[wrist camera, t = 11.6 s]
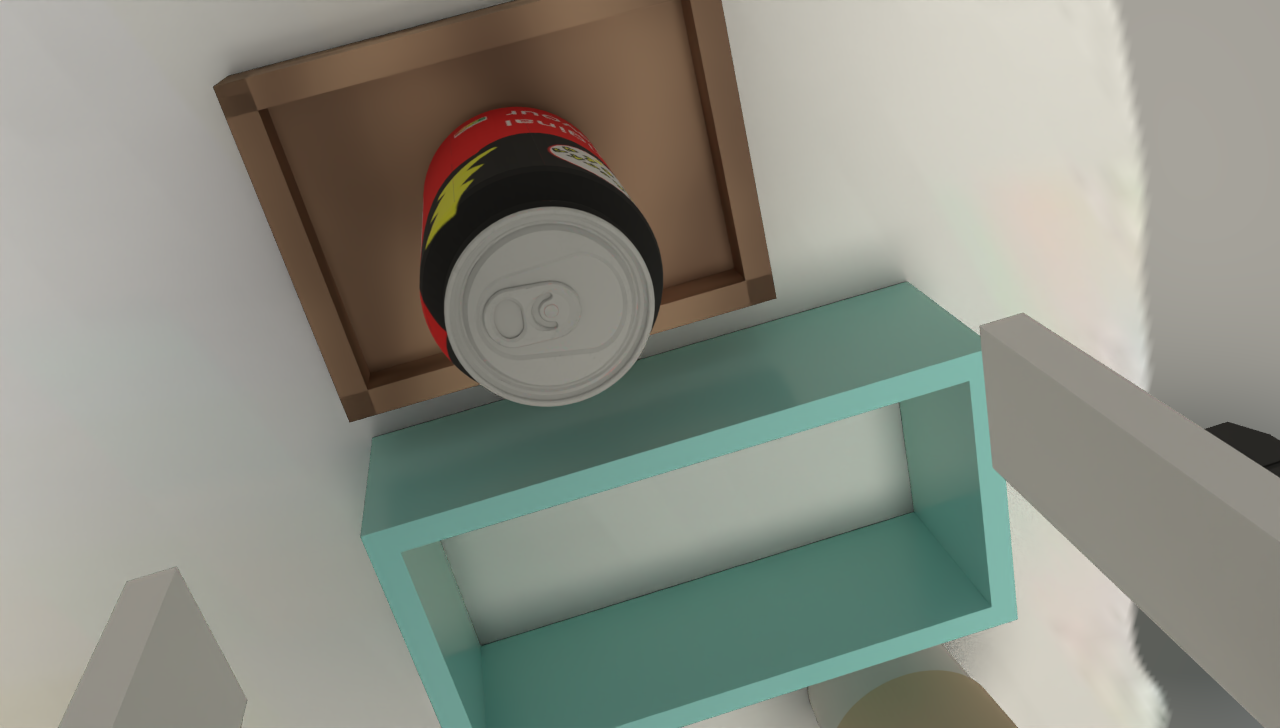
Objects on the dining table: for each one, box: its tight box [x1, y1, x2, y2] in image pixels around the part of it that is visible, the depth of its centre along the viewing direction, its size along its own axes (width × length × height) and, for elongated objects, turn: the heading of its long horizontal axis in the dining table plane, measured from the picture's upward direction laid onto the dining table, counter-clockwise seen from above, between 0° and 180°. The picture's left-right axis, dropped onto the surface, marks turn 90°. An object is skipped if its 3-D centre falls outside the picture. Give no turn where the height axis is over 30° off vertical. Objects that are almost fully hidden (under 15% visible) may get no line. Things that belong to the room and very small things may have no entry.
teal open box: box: [360, 282, 1018, 728], centre depth 39 cm, size 22×12×7 cm, turn 103°
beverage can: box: [419, 107, 663, 407], centre depth 30 cm, size 6×6×12 cm
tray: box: [213, 0, 776, 422], centre depth 35 cm, size 16×12×2 cm
